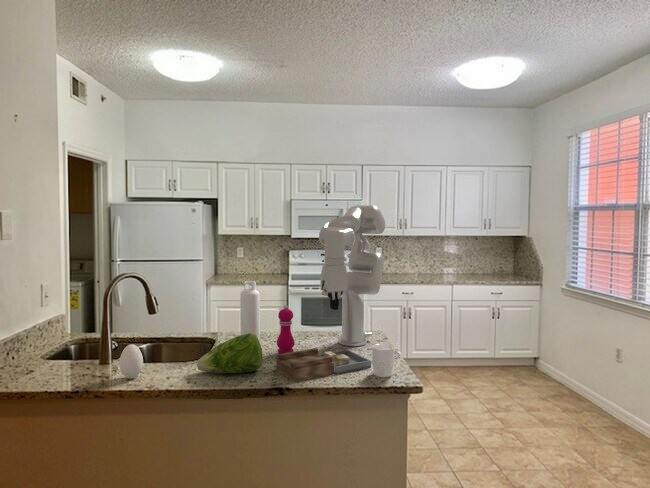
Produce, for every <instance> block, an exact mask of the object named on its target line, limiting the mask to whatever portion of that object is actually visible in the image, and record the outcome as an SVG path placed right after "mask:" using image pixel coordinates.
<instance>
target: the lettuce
mask: <svg viewBox="0 0 650 488" xmlns="http://www.w3.org/2000/svg"><path fill="white" fill-rule="evenodd" d="M263 360H264V359H263V349H262V346H261V342H260V341H259V340H258V338H257V337H256V335H254V334H251V333H248V334H244V335H238V336H234V337H233V338H230V339H228V340H226V341H224V342H222V343H220V344H218V345H216V346H215V347H213V348H212V349H210V350H209V351H208V352H207V353H206V354H204V355H203V356H201V357H200V358H199V359H198V360H197V362H196V367H197V369H198V370H199V371H202V372H209V373H216V374H244V373H245V374H246V373H250V372H254V371H258V370H259V369H260V368H261V367H262V365H263Z"/></svg>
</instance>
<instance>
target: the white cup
mask: <svg viewBox="0 0 650 488" xmlns="http://www.w3.org/2000/svg"><path fill="white" fill-rule="evenodd" d="M371 351H372V352H371V353H372V354H371V356H372V357H371V358H372V368H373V369H372V372H373V375H374V376H375V377H377V378H378V377H379V378H389V377H391V376H393V371H394V370H393V368H394V361H395V346H394V345H392V344H390V343H389V344H388V343H375V344H373V345H371Z"/></svg>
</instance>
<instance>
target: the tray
mask: <svg viewBox="0 0 650 488" xmlns="http://www.w3.org/2000/svg"><path fill="white" fill-rule="evenodd" d="M332 352H333V353H335V354H336V355H340V354H344V355H346V356H348V357H349V364H345V365H341V366H339V365H337V364H336V366H335V367H334V374H335V375H340V374H344V373H349V372H354V371H359V370H364V369H368V368H372V360H371V359H368V358H366V357H364V356H362V355H360V354H357V353H356V352H354V351H352V350H349V349H342V350H336V351H332ZM318 354H319V355H321V356H323V357H324V352H323V353H318Z"/></svg>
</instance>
